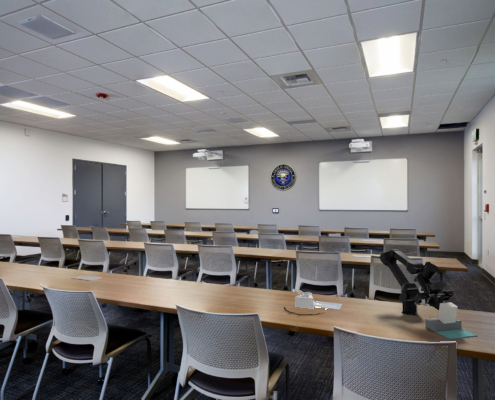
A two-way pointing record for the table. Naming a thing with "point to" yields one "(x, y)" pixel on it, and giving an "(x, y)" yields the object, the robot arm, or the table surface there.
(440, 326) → the plinth
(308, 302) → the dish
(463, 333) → the mat
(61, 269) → the table surface
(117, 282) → the table surface
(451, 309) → the card box
